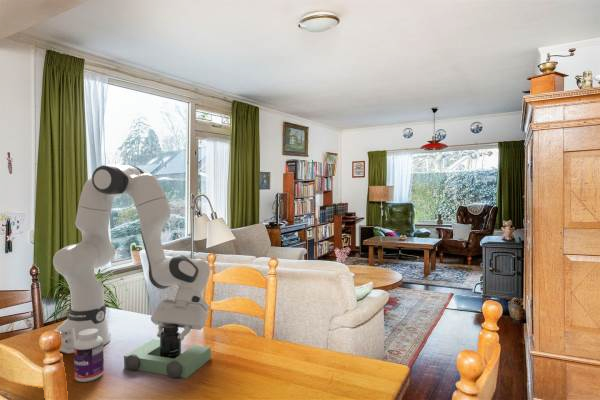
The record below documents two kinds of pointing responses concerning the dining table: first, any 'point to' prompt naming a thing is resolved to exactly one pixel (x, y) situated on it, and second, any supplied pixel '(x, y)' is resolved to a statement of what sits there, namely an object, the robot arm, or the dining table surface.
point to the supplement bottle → (170, 342)
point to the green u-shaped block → (166, 360)
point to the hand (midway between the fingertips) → (169, 338)
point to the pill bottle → (88, 356)
